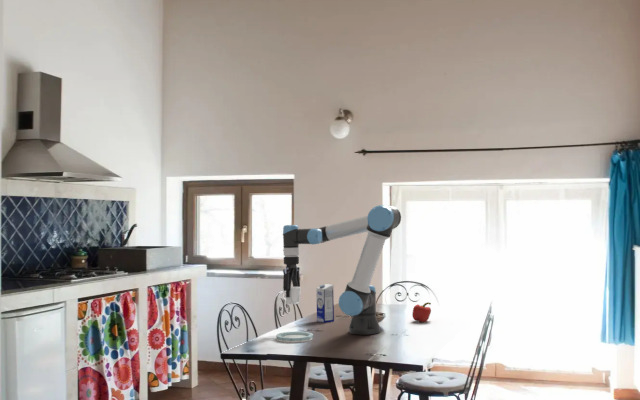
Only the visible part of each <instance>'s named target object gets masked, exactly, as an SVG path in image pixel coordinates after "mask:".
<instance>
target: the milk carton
mask: <svg viewBox="0 0 640 400" xmlns="http://www.w3.org/2000/svg"><path fill="white" fill-rule="evenodd" d="M315 289H316V295H315V296H316V322H320V323H323V324H325V323H326V324H327V323H333V322H335V309H334V308H335V307H334V306H335V305H334V304H335V303H334V302H335V301H334V295H335V294H334V285H333V284H330V283H325V284H321V285H319V286H318V287H316V288H315Z"/></svg>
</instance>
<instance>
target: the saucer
mask: <svg viewBox="0 0 640 400" xmlns="http://www.w3.org/2000/svg"><path fill="white" fill-rule="evenodd" d="M275 336H276V338H275V339H276V341H277V342H280V343H287V344H288V343H289V344H290V343H292V344H294V343H295V344H297V343H305V342H310V341H313V340H314V334H313V333H312V332H310V331H309V332H308V331H299V330H298V331H285V332H279V333H277V334H276V335H275Z"/></svg>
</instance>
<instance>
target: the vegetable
mask: <svg viewBox="0 0 640 400" xmlns="http://www.w3.org/2000/svg"><path fill="white" fill-rule="evenodd" d="M431 304H432V303H431V302H425V303H424V304H423V305H420V304H415V306H413V308H412V315H411V316H412V319H413V320H414V321H415V322H417V321H418V322H420V323H425V322H427V321H428V320H429V318H430V315H431V313H432V310H431V307H429V306H430V305H431ZM427 305H429V306H427Z"/></svg>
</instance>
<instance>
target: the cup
mask: <svg viewBox="0 0 640 400" xmlns="http://www.w3.org/2000/svg"><path fill="white" fill-rule="evenodd" d="M290 291H291V296H292V304H291V305H299V304H300V303H299V302H300V298H301V292H302V286H300V287H293V286H291V289H290ZM285 293H286V291H284V290H283V292H282V298H283V300H284V301H285V302H286V297H285Z"/></svg>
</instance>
